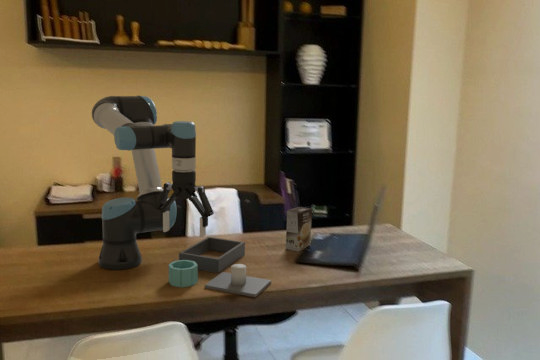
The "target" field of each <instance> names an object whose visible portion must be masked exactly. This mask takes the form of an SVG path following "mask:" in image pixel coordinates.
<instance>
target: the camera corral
mask: <svg viewBox="0 0 540 360" xmlns="http://www.w3.org/2000/svg"><path fill="white" fill-rule="evenodd" d="M208 251H214V252H220V253H224V254H222V255H220V256H218V257H212V256H205V255H203V254H205V253H207V252H208ZM245 255H246V241H240V240H233V239H228V238H226V239H225V238H220V237H214V236H213V237H212V236H207V237H205V238H203V239H202V240H200V241H198V242H196V243H194V244H193V245H191V246H189V247H187V248H186V249H185V248H184V250H182V251H180V252H179V253H178V261H179V260H190V261H194V262H196V263H197V265H198V271H203V272H210V273H214V274H215V273H216V274H219V273H220V274H221V273H222V272H223V271H224V270H225V269H227V268H228V267H229V266H232V265H233V264H234V263H235V262H236V261H238V260H239V259H240V258H242V257H244V256H245Z"/></svg>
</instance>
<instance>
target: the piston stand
mask: <svg viewBox="0 0 540 360" xmlns="http://www.w3.org/2000/svg"><path fill="white" fill-rule="evenodd" d="M271 284H272V280H271V279H267V278H260V277H254V276H250V275H247V265H245V264H242V263H235V264H231V265H230V272H228V271H227V272H226V271H221V272H220V274H219V273H218V275H217V276H215V277H214V278H212V279H211V280H209V281H208V282H207V283H206V284H205V285H204V288H205V289H209V290H213V291H221V292H226V293H232V294H236V295H241V296H246V297H250V298H251V297H252V298H257V297H258V296H259V295H260V294H261V293H263V291H264V290H265V289H266V288H267V287H269V285H271Z"/></svg>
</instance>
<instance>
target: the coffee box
mask: <svg viewBox="0 0 540 360" xmlns="http://www.w3.org/2000/svg"><path fill="white" fill-rule="evenodd" d="M312 214H313V209H312V208H309V207H303V206H297V207H294V208H291V209H287V211H286V229H285V230H286V233H285V235H286V236H285V237H286V238H285V249H286V250H289V251H293V252H301V251H303V250H305V249H304V248H306V247H307V246H308V245H310V246H311V238H312V232H311V231H312ZM306 249H307V248H306Z"/></svg>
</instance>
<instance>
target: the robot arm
mask: <svg viewBox="0 0 540 360" xmlns="http://www.w3.org/2000/svg"><path fill="white" fill-rule="evenodd" d="M156 107H157V106H156V105H155V103H154V101H153V99H152V98H151V97H148V96H145V95H144V96H143V95H130V96H129V95H110V96H106V97H105V96H104V97H102V98H100V99H99V100H97V101H96V103H95V104H94V105H93V106H92V108H91V109H92V110H91V118H92V120H93V122H94V123H95V124H96V125H97V127H99V128H100V129H104V130H107V131H108V132H109V133H111V134H112V135H113V138H114V139H113V140H114V144H115V147H116V149H118V150H119V151H131V154H132V155H131V156H132V160H133V166H134V170H135V176H136V180H137V186H138V192H139V194H137V196H136V199H135V198H134V197H131V196H130V197H129V196H126V197H118V198H114V199H111V200H108V201H106V202H105V203H104V204H103V205H102V207H101V224H102V225H101V227H102V246H101V248H100V249H101V250H100V252H99V256H98V266H99V267H100V268H103V269H104V270H105V269H106V270H112V271H113V270H114V271H115V270H116V271H117V270H121V271H122V270H129V269H131V268H135V267H138V266H139V265H141V263H142V262H143V258H142V257H143V256H142V253H141V251H140V248H139V245H138V242H137V234H141V233H147V232H155V231H162V232H163V233H166V232H168V231H170V229H171V228H172V227H173V226H174V225H175V223H176V219H177V212H178V210H177V209H178V208H177V203H176V200H177V199H183V200H189V201H190V202H191V203H192V205H193V206H194V208H195V209H196V211H197V212H198V214H199V215H200V217H199V238H203V237H205V236H207V234H206V233H207V230H206V228H207V227H209V217H212V215H214V210H213V208H212V206H211V203H210V201H209V198H208V197H207V193H206V189H205V186H204V185H202V186H197V185H196V181H197V178H196V176H197V175H196V174H197V173H196V168H197V164H196V163H197V162H196V159H197V158H196V157H197V156H196V145H197V143H196V142H197V131H196V130H197V129H196V124H195V122H193V121H189V120H188V121H187V120H177V121H173V122H172V123H165V124H161V125H157V124H156V123H157V120H158V116H157V115H158V111H157V108H156ZM156 149H171V169H172V171H171V181H172V183H171V182H170V181H168V182H166V183H165V182H164V183H163V184H162V181H161V174H160V169H159V165H158V160H157V155H156ZM171 190H172V191H173V192H172V194H171V195H170V196H169V194H170V192H171ZM197 194H198V196H197ZM198 197H199V198H198Z"/></svg>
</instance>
